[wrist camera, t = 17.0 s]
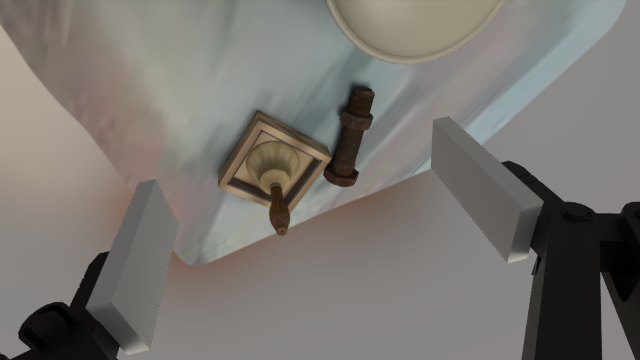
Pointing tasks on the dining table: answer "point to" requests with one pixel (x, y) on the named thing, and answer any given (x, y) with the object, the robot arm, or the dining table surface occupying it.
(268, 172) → the hand bell
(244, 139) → the square tray
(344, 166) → the bolt
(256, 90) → the dining table surface
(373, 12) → the canister
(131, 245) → the robot arm
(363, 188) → the dining table surface
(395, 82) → the dining table surface
